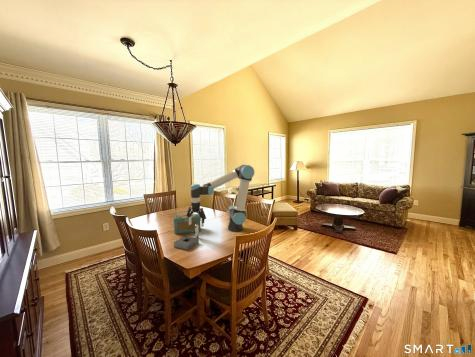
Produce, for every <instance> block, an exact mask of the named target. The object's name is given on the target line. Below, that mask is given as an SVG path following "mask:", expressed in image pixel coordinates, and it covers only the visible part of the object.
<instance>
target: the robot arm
mask: <svg viewBox="0 0 475 357" xmlns="http://www.w3.org/2000/svg"><path fill="white" fill-rule="evenodd" d="M254 176H255V169H254V167H253V166H251V165H249V164H240V166H237V167H236V168H233V170H232V171H230V172H228V173H226V174H224V175H221V176H220V177H218V178H216V179H214V180H211V181H209V182H207V183H204V184H203V185H200V184H198V183H194V184H191V185H190V201H191V203H190V204H191V205H190V206H189V207H188V210H187V211H188V212H186V214H185V215H186V216H187V217H188V221H189V225H190V224H191V215H192V214H194V213H195V214H199V216H200V217H201V221H200V226H201V228H203V227H205V220H206V219H207V217H206V214H205V211H204V207H201V196H211V195H214V193H215V190H216V189H217V188H218V187H221V186H223V185H225V184H227V183H230V182H231V181H233V180H235V179H239V185H238V190H237V195H236V201H235V205H231V206H229V208H228V210H229V212H228V213H229V214H228V215H229V216H228V218H229V222H228V225H227V230H228V231H229V232H233V231H234V232H235V231H237V232H241V231H243V230H244V225H243V224H244V223H245V222H246V220H247V217H246V212H247V209H246V202H247V197H248V193H249V188H250V187H249V186H250V183H251V182H252V181H253V180H252V179H253V177H254ZM242 229H243V230H242ZM240 230H241V231H240ZM234 232H233V233H234Z"/></svg>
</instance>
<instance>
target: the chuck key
mask: <svg viewBox="0 0 475 357" xmlns="http://www.w3.org/2000/svg"><path fill="white" fill-rule="evenodd" d="M198 226H199V224H196V225H195V226H194V228H195V232H194V235H195V237H194V238H198V239H199V238H200V233H199V228H198Z"/></svg>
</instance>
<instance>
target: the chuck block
mask: <svg viewBox="0 0 475 357" xmlns="http://www.w3.org/2000/svg"><path fill="white" fill-rule="evenodd" d="M199 243H200V240H199V238H195V237H192V236H189V235H185V236H182V237H181V238H179V239H177V240H175V241H173V247H174V248H177V249H180V250H184V251H189V250H191V249H192V248H193V247H195V246H197V245H198V244H199Z"/></svg>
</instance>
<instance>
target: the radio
mask: <svg viewBox="0 0 475 357" xmlns="http://www.w3.org/2000/svg"><path fill="white" fill-rule="evenodd" d="M187 212H188V210H183V211H178V212H176V213H175V214H174V216H173V229H174V231H173V232H174V235H176V234H177V235H178V234H186V233H195V228H194V226H195V225H196V224H199V226H198V228H199V232H202V231H201V230H202V229H201V228H202V227H201V220H202V219H201V217H200V216H199V214H198V213H193V214H192V215H191V224H190V225H189V221H188V217H187V216H186V215H187V214H181V213H187ZM178 214H179V215H178Z"/></svg>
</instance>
